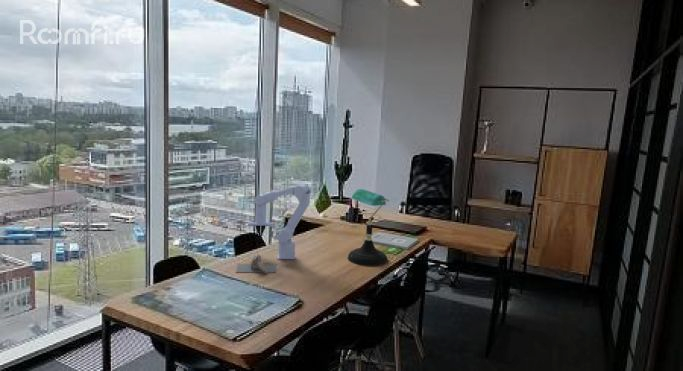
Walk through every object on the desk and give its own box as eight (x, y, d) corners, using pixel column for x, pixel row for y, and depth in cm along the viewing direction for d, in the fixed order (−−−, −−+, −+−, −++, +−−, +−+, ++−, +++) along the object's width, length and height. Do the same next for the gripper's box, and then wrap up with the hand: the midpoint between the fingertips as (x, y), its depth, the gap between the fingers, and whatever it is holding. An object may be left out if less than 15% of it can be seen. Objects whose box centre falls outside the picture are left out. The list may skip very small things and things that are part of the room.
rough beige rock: (258, 275, 217) (259, 261, 216) (247, 266, 229) (248, 253, 227) (269, 273, 220) (270, 260, 219) (258, 264, 232) (258, 251, 231)
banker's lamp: (339, 254, 258) (342, 188, 252) (372, 251, 268) (376, 187, 262) (361, 268, 234) (366, 196, 229) (396, 264, 245) (401, 195, 239)
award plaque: (377, 234, 310) (378, 231, 310) (418, 241, 297) (418, 238, 297) (363, 242, 288) (364, 239, 288) (406, 250, 275) (406, 247, 275)
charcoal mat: (275, 264, 234) (275, 264, 234) (275, 272, 222) (275, 271, 222) (238, 264, 231) (238, 264, 231) (236, 272, 219) (236, 272, 219)
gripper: (273, 214, 253) (273, 236, 255) (248, 213, 251) (248, 236, 253) (273, 216, 246) (273, 239, 248) (247, 216, 244) (247, 239, 246)
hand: (260, 238), depth 250 cm, fingers closed
